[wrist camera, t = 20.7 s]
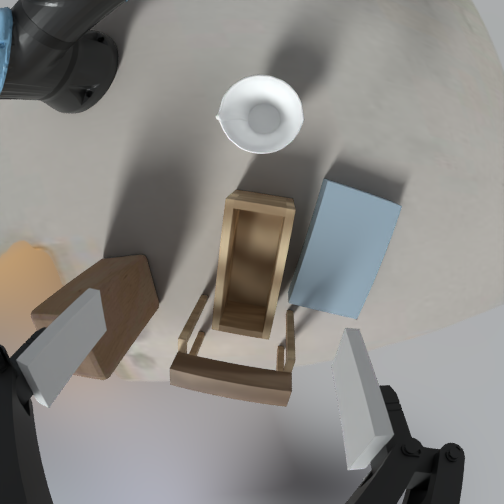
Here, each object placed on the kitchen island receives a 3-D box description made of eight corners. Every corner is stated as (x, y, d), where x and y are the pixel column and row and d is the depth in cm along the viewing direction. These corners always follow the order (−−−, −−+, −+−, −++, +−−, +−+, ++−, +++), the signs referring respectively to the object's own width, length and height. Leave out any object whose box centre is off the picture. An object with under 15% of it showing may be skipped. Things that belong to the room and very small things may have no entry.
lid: (323, 178, 39) (327, 180, 35) (391, 201, 39) (401, 206, 35) (288, 290, 45) (288, 302, 42) (351, 306, 45) (356, 319, 41)
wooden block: (147, 251, 45) (75, 314, 26) (162, 306, 48) (108, 384, 29) (100, 257, 46) (25, 312, 28) (116, 307, 50) (56, 373, 31)
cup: (230, 92, 36) (214, 75, 26) (298, 92, 35) (303, 74, 25) (230, 153, 39) (215, 154, 29) (298, 154, 38) (304, 154, 28)
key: (178, 351, 36) (169, 368, 32) (291, 372, 35) (291, 391, 32) (178, 367, 37) (170, 384, 33) (286, 387, 36) (286, 406, 33)
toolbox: (212, 186, 40) (185, 200, 29) (317, 203, 40) (331, 224, 28) (198, 335, 49) (178, 382, 38) (282, 351, 49) (281, 402, 37)
